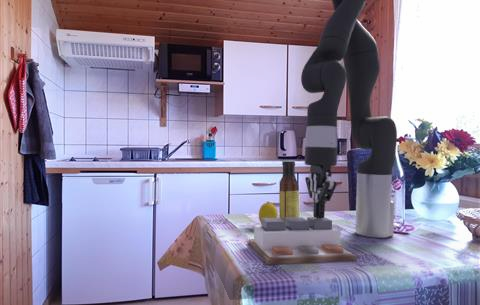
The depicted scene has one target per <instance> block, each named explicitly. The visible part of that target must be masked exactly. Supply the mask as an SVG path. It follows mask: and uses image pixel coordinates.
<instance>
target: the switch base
mask: <svg viewBox="0 0 480 305" xmlns="http://www.w3.org/2000/svg"><path fill="white" fill-rule="evenodd" d="M248 244H249V245H250V247H251V248H252V249H253V250H254V251H255V252H256V253H257V255H258V256H259V257H260V258H261V259H262V261H263V262H264V263H265V264H266V265H268V266H269V265H284V264H286V265H288V264H307V263H326V262H327V263H328V262H350V261H352V262H353V261H357V259H358V258H357V257H358V256H357V255H356V254H354V253H353V252H351V251H349V250H348V249H346V248H344V247H342V246H341V245H340V246H339V245H337V244H331V245H322V248H320V249H317V248H316V247H315V246H313V245H303V246H297V249H294V250H292V249H291V248H290V247H288V246H275V247H272V250H268V251H262V250H261V249H260V247H259V246H258V245H257V244H256V243H255V242H254V238H252V239H251V238H249V239H248Z"/></svg>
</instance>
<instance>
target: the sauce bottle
mask: <svg viewBox="0 0 480 305" xmlns="http://www.w3.org/2000/svg"><path fill="white" fill-rule="evenodd" d="M281 164H282V177H281V179H280V181H279V191H278V195H279V196H278V197H279V198H278V199H279V204H278V205H279V206H278V207H279V217H278V218H280V219H282V220H284V221H285V218H293V217H300V190H299V189H300V188H299V182H298V180H297V177H296V172H295V171H296V170H295V166H296V161H295V160H283V161H282V162H281Z"/></svg>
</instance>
